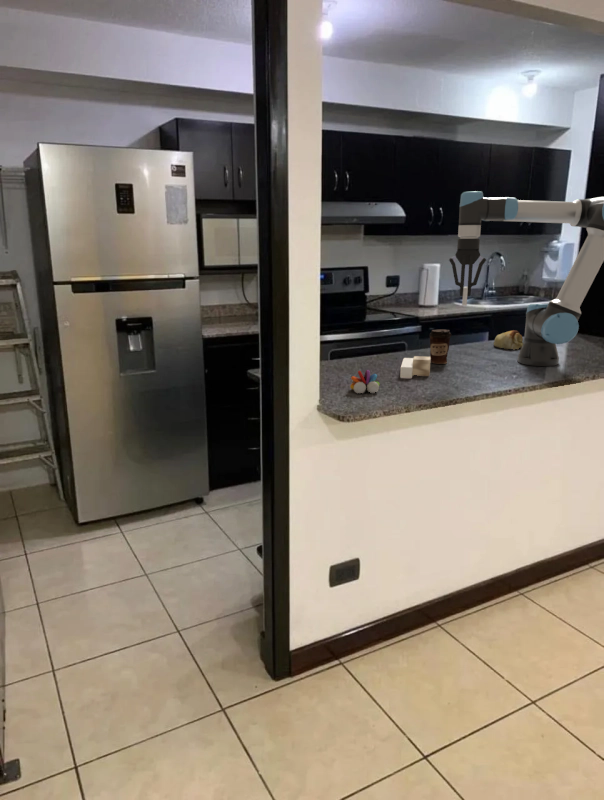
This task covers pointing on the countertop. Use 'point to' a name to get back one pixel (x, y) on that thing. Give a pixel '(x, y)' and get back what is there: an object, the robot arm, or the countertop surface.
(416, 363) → the block
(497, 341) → the pastry
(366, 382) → the rainbow fan toy
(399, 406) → the countertop surface
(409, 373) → the white rectangular bar
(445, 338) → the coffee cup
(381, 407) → the countertop surface
